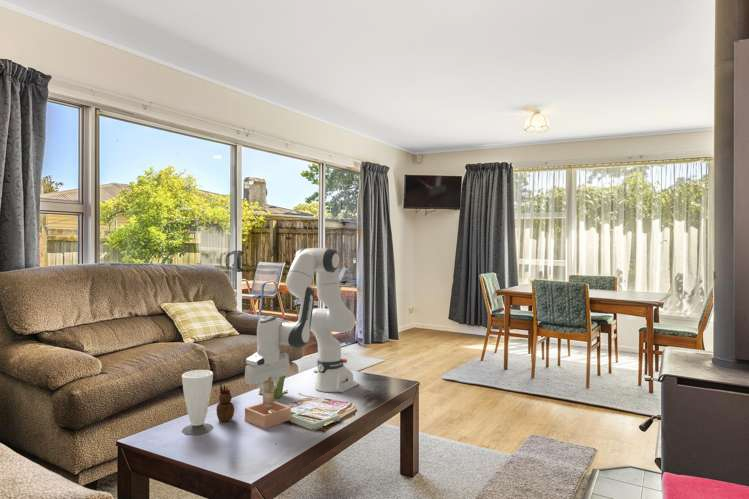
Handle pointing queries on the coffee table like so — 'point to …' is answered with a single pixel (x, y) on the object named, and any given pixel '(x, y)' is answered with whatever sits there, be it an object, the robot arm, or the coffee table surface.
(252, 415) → the frame
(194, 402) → the cup
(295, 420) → the sage tray
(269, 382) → the beech peg
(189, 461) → the coffee table surface
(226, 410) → the wooden figurine
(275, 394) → the plant pot
